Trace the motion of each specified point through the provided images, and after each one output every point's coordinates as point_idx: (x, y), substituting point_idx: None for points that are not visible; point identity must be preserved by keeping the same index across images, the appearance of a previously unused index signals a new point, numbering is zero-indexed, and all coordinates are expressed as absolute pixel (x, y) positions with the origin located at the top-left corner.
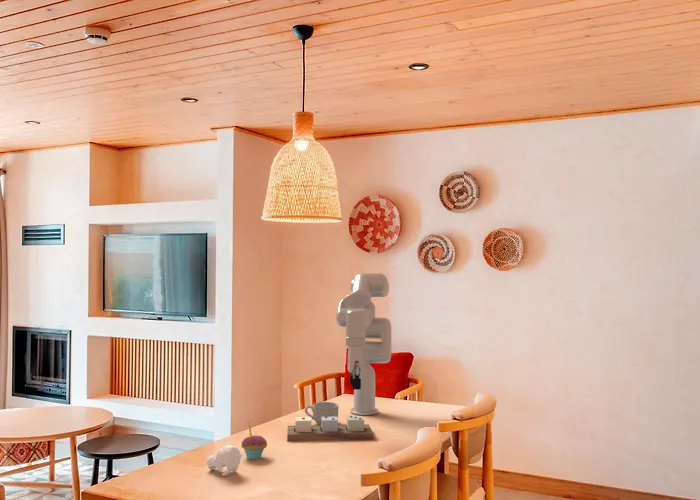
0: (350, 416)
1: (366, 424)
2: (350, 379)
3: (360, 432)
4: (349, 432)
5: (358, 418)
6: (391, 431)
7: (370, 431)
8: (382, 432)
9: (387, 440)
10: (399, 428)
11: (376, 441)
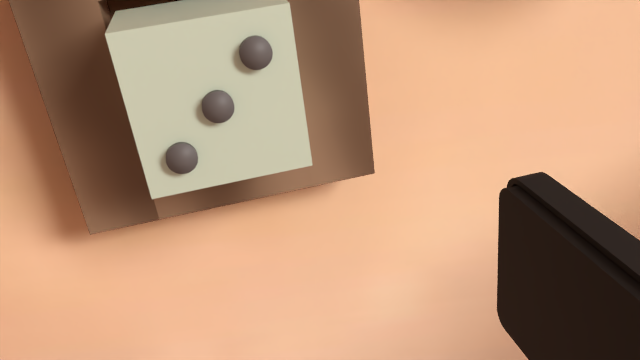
0: (248, 48)
1: (371, 154)
2: (593, 240)
3: (79, 131)
4: (54, 28)
5: (201, 137)
6: (348, 298)
7: (133, 209)
8: (318, 248)
9: (98, 302)
10: (424, 333)
11: (49, 236)
